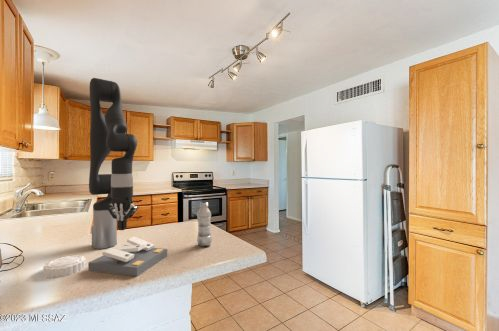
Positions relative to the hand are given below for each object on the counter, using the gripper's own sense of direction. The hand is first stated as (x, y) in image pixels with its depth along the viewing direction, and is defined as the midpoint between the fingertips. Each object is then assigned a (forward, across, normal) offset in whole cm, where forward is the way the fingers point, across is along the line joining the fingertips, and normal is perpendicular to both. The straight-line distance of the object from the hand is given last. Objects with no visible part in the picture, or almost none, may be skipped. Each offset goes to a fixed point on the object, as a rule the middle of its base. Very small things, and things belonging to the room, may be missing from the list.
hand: (122, 229), depth 92 cm
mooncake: (+13, -15, -10) cm, 23 cm away
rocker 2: (+7, +4, +6) cm, 10 cm away
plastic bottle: (+13, +24, +24) cm, 36 cm away
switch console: (+12, +4, 0) cm, 13 cm away
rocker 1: (+7, +4, -6) cm, 10 cm away
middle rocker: (+7, +4, 0) cm, 8 cm away
